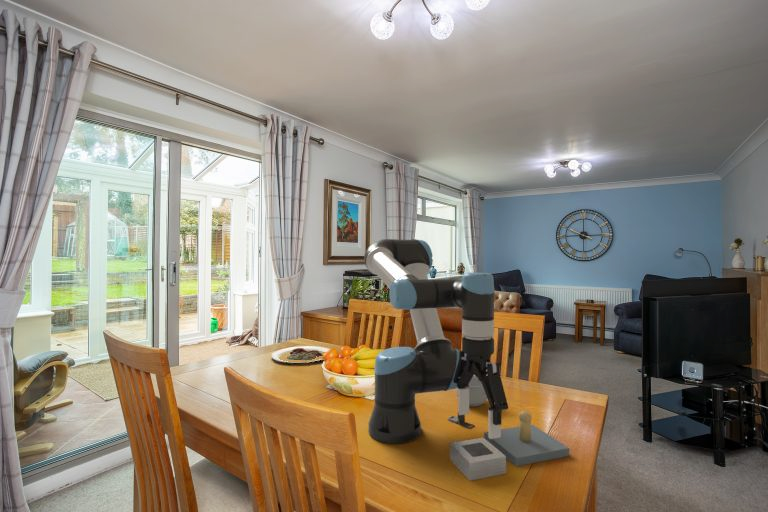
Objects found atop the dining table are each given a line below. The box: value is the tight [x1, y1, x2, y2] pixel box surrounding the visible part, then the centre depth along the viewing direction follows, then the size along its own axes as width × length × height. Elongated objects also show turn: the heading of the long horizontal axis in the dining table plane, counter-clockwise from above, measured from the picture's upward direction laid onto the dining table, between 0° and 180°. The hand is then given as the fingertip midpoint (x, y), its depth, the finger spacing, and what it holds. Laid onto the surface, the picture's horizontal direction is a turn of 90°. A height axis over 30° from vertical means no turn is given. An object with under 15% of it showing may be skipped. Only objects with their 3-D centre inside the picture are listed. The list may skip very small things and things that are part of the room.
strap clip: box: [447, 413, 476, 430], centre depth 116 cm, size 8×3×4 cm, turn 43°
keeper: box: [483, 410, 570, 467], centre depth 101 cm, size 16×14×10 cm
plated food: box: [271, 345, 331, 364], centre depth 189 cm, size 30×30×3 cm
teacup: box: [456, 375, 488, 408], centre depth 133 cm, size 14×11×8 cm
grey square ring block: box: [449, 437, 507, 481], centre depth 92 cm, size 10×10×4 cm
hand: (478, 425), depth 92 cm, fingers open, 13 cm apart
